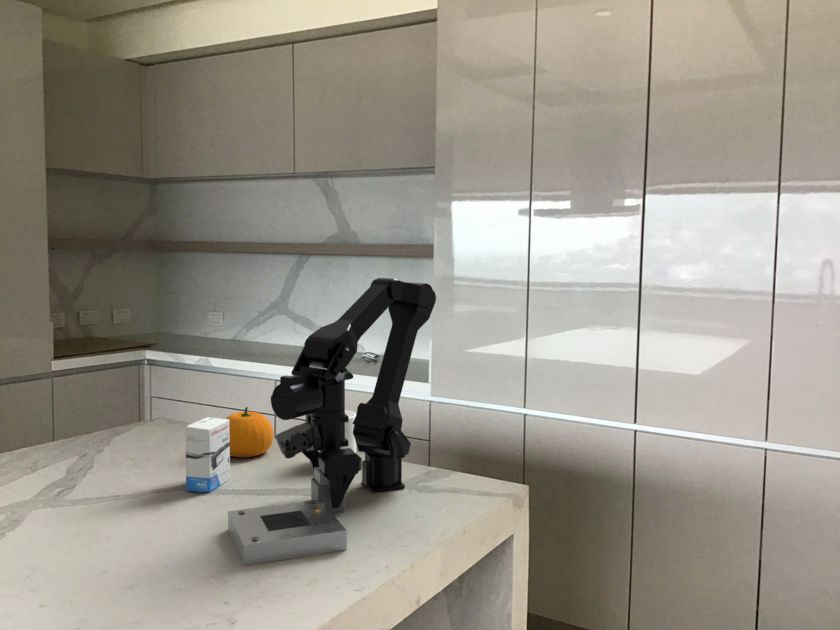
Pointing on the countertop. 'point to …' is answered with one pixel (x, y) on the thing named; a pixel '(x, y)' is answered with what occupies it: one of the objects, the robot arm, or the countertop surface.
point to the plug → (323, 491)
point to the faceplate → (285, 531)
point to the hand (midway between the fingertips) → (327, 498)
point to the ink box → (207, 454)
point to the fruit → (249, 434)
